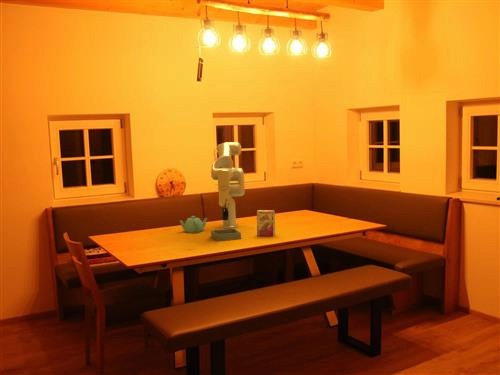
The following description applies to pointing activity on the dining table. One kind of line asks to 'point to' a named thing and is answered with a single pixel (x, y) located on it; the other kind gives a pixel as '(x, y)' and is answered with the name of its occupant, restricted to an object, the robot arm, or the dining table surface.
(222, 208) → the battery cell
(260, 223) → the candy bar box
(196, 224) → the teapot
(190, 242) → the dining table surface
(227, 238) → the trough
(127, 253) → the dining table surface
